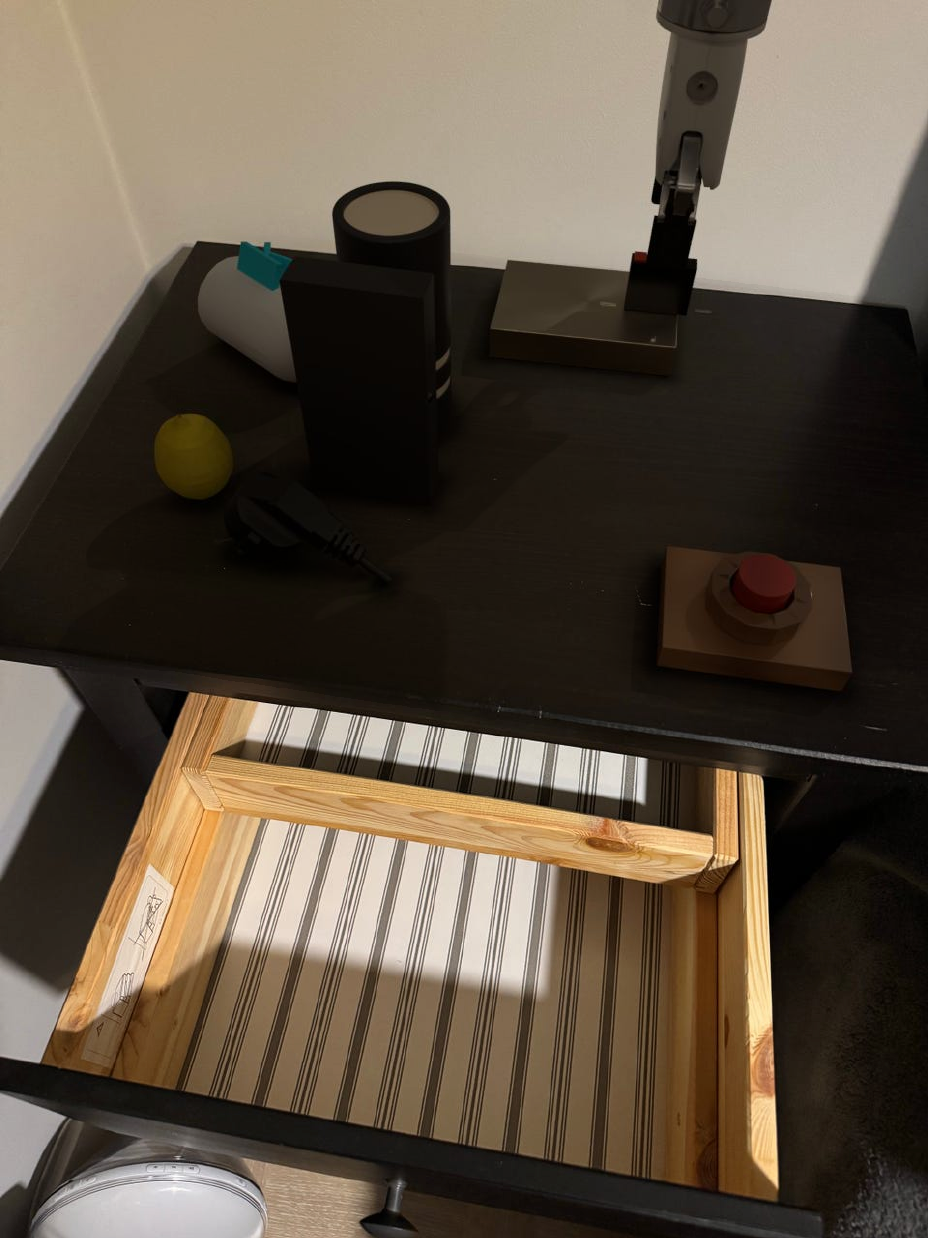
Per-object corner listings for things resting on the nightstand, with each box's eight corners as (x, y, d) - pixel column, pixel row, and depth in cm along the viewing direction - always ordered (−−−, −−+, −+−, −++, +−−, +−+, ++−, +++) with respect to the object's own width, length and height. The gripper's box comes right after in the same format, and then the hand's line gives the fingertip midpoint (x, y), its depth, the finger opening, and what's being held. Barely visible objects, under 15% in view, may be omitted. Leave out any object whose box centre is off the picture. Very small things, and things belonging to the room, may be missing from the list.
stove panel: (703, 307, 85) (711, 277, 83) (702, 380, 79) (710, 349, 76) (506, 287, 87) (507, 257, 85) (489, 357, 81) (490, 326, 78)
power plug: (377, 606, 62) (233, 495, 59) (330, 640, 68) (196, 541, 65) (410, 549, 65) (275, 441, 62) (362, 586, 71) (236, 490, 68)
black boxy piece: (686, 305, 80) (698, 255, 77) (686, 315, 79) (697, 266, 76) (624, 299, 81) (632, 249, 77) (623, 309, 80) (631, 259, 76)
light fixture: (470, 393, 78) (473, 188, 63) (433, 506, 69) (427, 298, 55) (360, 378, 79) (339, 173, 65) (311, 486, 70) (275, 278, 56)
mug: (300, 289, 69) (205, 231, 74) (280, 399, 74) (193, 338, 79) (404, 287, 78) (313, 235, 83) (380, 385, 83) (295, 331, 88)
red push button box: (830, 587, 65) (849, 549, 61) (841, 691, 59) (862, 656, 56) (661, 565, 66) (671, 527, 63) (656, 666, 60) (667, 630, 57)
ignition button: (786, 575, 60) (794, 557, 59) (789, 617, 58) (797, 600, 57) (732, 568, 61) (738, 550, 59) (732, 609, 59) (739, 592, 57)
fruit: (245, 514, 69) (224, 432, 62) (171, 527, 68) (141, 446, 61) (237, 465, 72) (216, 383, 66) (166, 477, 71) (138, 395, 65)
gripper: (776, 53, 56) (712, 298, 69) (767, -45, 66) (713, 186, 80) (654, 43, 56) (615, 288, 70) (663, -52, 67) (628, 178, 80)
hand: (667, 233), depth 75 cm, fingers open, 9 cm apart
